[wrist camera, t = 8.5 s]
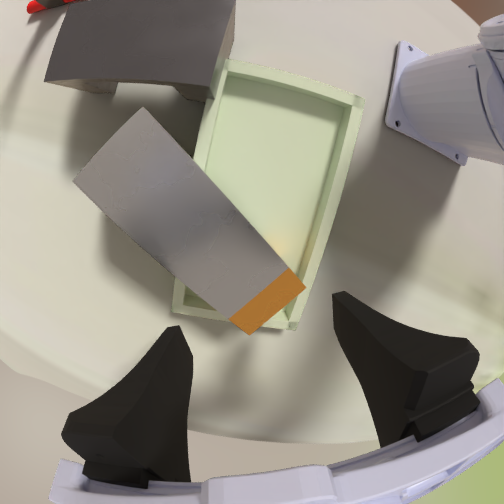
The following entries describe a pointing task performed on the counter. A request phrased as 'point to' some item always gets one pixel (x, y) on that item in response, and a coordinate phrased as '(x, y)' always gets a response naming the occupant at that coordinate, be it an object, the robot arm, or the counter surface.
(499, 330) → the counter surface
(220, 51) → the bracket
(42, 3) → the tow hook
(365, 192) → the counter surface
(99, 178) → the pin
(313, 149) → the tray
